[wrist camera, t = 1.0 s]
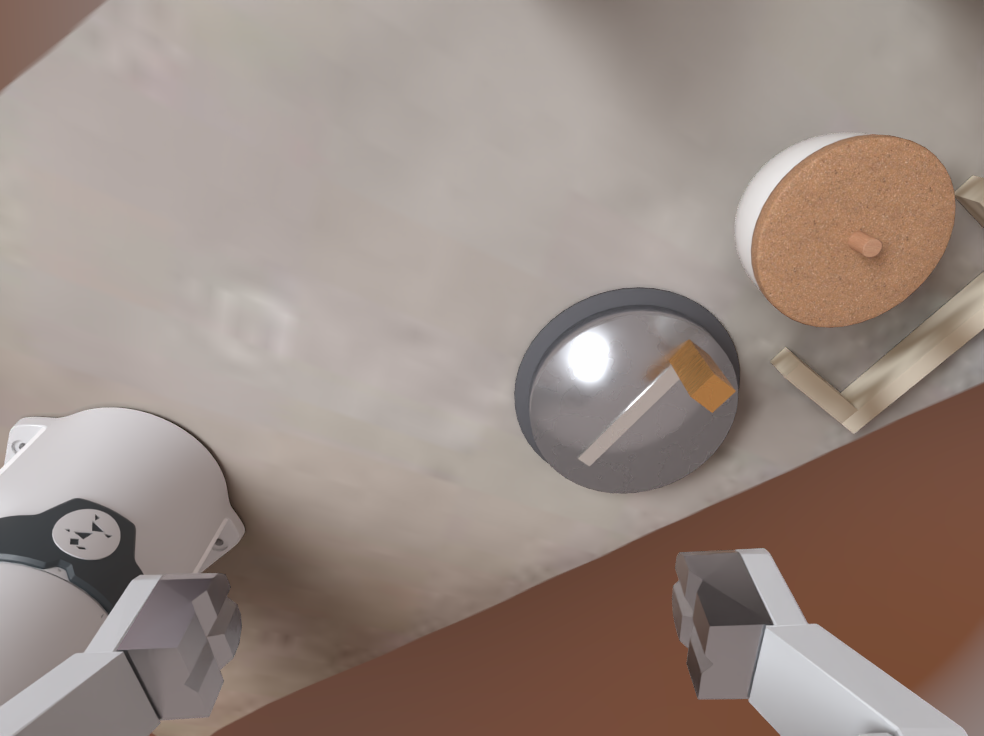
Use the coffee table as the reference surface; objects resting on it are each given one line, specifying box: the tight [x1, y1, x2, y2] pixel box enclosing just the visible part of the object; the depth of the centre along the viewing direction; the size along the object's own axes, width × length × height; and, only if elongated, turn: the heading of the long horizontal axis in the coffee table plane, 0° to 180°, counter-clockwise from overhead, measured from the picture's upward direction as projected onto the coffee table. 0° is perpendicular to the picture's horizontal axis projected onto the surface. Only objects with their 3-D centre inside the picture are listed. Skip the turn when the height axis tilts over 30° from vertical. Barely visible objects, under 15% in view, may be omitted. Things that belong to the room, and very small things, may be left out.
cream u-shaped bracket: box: [770, 176, 984, 434], centre depth 43 cm, size 17×8×2 cm, turn 142°
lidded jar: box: [734, 132, 955, 328], centre depth 37 cm, size 11×11×9 cm
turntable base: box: [514, 288, 740, 463], centre depth 47 cm, size 17×17×1 cm
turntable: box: [528, 305, 738, 493], centre depth 43 cm, size 15×15×7 cm
